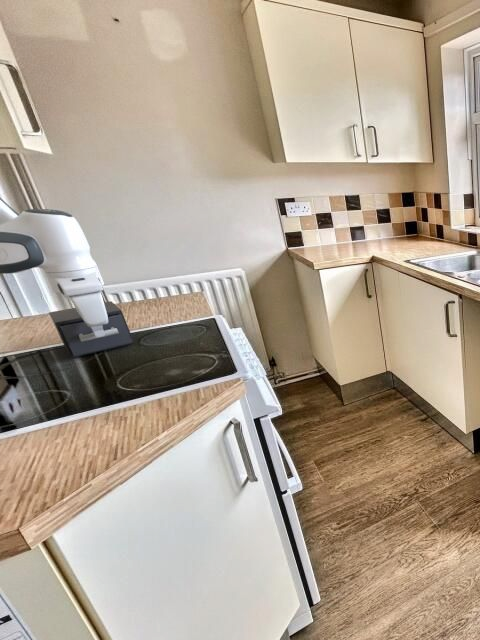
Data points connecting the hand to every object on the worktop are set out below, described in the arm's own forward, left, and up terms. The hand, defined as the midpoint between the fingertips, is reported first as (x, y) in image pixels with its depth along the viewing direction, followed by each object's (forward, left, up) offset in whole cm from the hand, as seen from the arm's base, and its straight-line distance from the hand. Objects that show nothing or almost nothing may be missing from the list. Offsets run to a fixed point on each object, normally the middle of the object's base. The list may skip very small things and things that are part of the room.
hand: (99, 335), depth 104 cm
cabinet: (0, +14, -6) cm, 16 cm away
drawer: (0, +10, -5) cm, 11 cm away
